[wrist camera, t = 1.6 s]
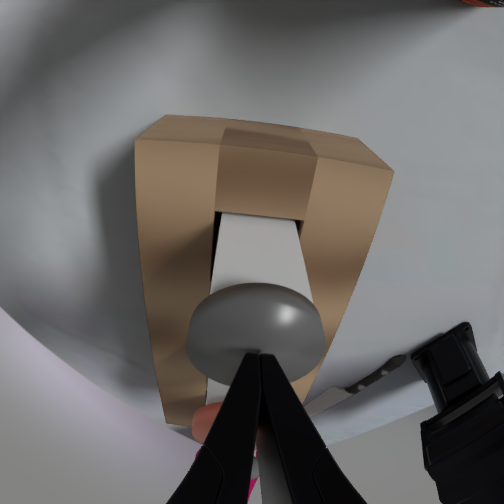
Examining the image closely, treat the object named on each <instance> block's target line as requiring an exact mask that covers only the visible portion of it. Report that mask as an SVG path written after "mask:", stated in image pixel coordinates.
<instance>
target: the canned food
mask: <svg viewBox="0 0 504 504" xmlns="http://www.w3.org/2000/svg"><path fill="white" fill-rule="evenodd" d="M460 1H463V2H465V3H468V4H471V5H475V6H478V7H504V0H460Z"/></svg>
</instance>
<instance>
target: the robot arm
mask: <svg viewBox="0 0 504 504" xmlns="http://www.w3.org/2000/svg"><path fill="white" fill-rule="evenodd" d="M411 360H412V362H413V364H414V366H415V367H416V369H417V370H418V372H419V374H420V375H421V377H422V379H423V380H424V382H425V383H427V384H428V387H429V390H430V392H431V395H432V398H433V401H434V403H435V406H436V409H437V412H438V414H437V415H435V416H434V417H432V418H430V419H429V420H427V421H426V420H425V421H423V422H422V423H420V426H421V440H422V449H423V459H424V467H425V470H426V471H428V473H429V475H430V476H431V478H432V479H433V480H434V481H435V482H436V486H437V490H438V495H439V500H440V502H441V503H442V504H504V396H503V397H502V398H500V399H499V398H498V397H499V396H501V395H502V394H503V395H504V376H503V374H502V373H501V372H500V371H499V372H497V373H496V374H495V376H494V377H492V378H491V379H490V378H489V376H488V374H487V372H486V369H485V367H484V365H483V363H482V361H481V359H480V357H479V355H478V354H477V349H476V344H475V339H474V335H473V331H472V327H471V325H470V323H469V322H466V323H464V324H463V325H461V326H459V327H458V328H456V329H455V330H453V331H451V332H450V333H448V334H447V335H445V336H443V337H442V338H440V339H438V340H436V341H435V342H433V343H431V344H430V345H428V346H426V347H424V348H423V349H421V350H419V351H417V352H415V353H414V354H412V355H411ZM255 443H256V447H257V457H258V466H259V476H260V485H261V494H262V504H367V503H366V501H365V500H364V499H363V498H362V497H361V495H360V494H359V493H358V492H357V490H356V489H355V488H354V487H353V486H352V484H351V483H350V482H349V480H348V479H347V478H346V476H345V475H344V474H343V472H342V471H341V469H340V468H339V466H338V465H337V463H336V461H335V460H334V458H333V457H332V455H331V453H330V452H329V450H328V448H326V445H325V443H324V441H323V440H322V438H321V436H320V435H319V433H318V431H317V429H316V428H315V426H314V424H313V422H312V421H311V419H310V417H309V415H308V414H307V412H306V410H305V408H304V407H303V405H302V403H301V401H300V400H299V398H298V396H297V394H296V393H295V391H294V389H293V387H292V385H291V384H290V382H289V380H288V378H287V376H286V375H285V373H284V371H283V369H282V368H281V366H280V364H279V362H278V360H277V359H276V357H275V355H274V354H268V353H261V354H260V355H259V354H258V353H252V352H246V353H245V355H244V357H243V359H242V361H241V363H240V366H239V368H238V370H237V372H236V374H235V377H234V379H233V381H232V383H231V385H230V388H229V390H228V392H227V394H226V396H225V398H224V400H223V403H222V405H221V407H220V409H219V411H218V413H217V415H216V418H215V420H214V422H213V424H212V426H211V428H210V430H209V432H208V434H207V436H206V439H205V441H204V443H203V446H201V449H200V451H199V453H198V455H197V457H196V459H195V461H194V462H193V464H192V466H191V468H190V470H189V471H188V473H187V474H186V476H185V478H184V479H183V481H182V482H181V484H180V485H179V487H178V488H177V489H176V491H175V492H174V493H173V495H172V496H171V498H170V499H169V500H168V502H167V503H166V504H247V501H248V494H249V487H250V480H251V473H252V465H253V458H254V451H255Z"/></svg>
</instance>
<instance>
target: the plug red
mask: <svg viewBox="0 0 504 504" xmlns="http://www.w3.org/2000/svg"><path fill="white" fill-rule="evenodd" d="M229 388H230V386H227V385H224V384H221V383H218V382H216V381H214V380H212V379H210V378H208V387H207V398H206V405H205V406H202V407H201V408H199V409H198V410H196V411H195V413H194V414H193V421H192V430H191V433H192V436H193V437H194V438H195V439H196V440H197V441H198V442H200V443H202V444H203V443H204V441H205V439H206V436H207V434H208V432H209V430H210V428H211V426H212V424H213V422H214V420H215V418H216V415H217V413H218V411H219V409H220V407H221V405H222V403H223V400H224V398H225V396H226V394H227V392H228V390H229ZM255 450H257V447H256V443H255Z"/></svg>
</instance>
